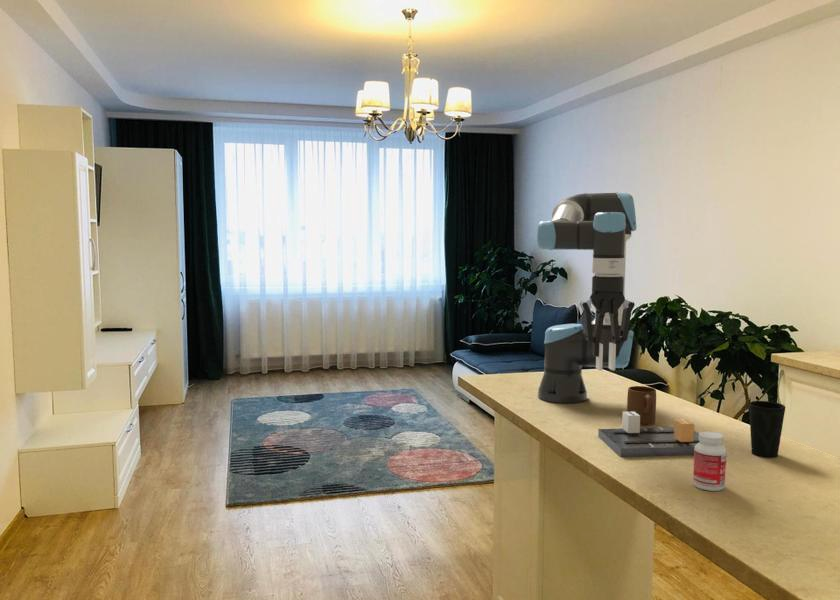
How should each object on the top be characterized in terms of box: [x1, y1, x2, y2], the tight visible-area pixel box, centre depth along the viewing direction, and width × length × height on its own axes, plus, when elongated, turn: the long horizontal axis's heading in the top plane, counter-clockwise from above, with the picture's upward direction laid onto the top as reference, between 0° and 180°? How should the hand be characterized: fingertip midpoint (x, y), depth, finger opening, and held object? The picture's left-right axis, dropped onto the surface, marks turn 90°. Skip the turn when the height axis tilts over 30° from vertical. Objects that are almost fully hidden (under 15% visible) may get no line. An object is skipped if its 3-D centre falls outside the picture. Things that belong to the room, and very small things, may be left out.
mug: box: [626, 385, 657, 426], centre depth 188 cm, size 12×8×9 cm, turn 179°
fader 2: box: [673, 418, 695, 442], centre depth 167 cm, size 4×3×4 cm
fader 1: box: [621, 411, 641, 433], centre depth 174 cm, size 4×3×4 cm
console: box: [597, 426, 700, 458], centre depth 171 cm, size 16×24×2 cm, turn 94°
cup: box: [748, 400, 786, 459], centre depth 163 cm, size 8×8×12 cm
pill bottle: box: [692, 431, 727, 492], centre depth 143 cm, size 6×6×11 cm
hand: (605, 369), depth 172 cm, fingers open, 3 cm apart
